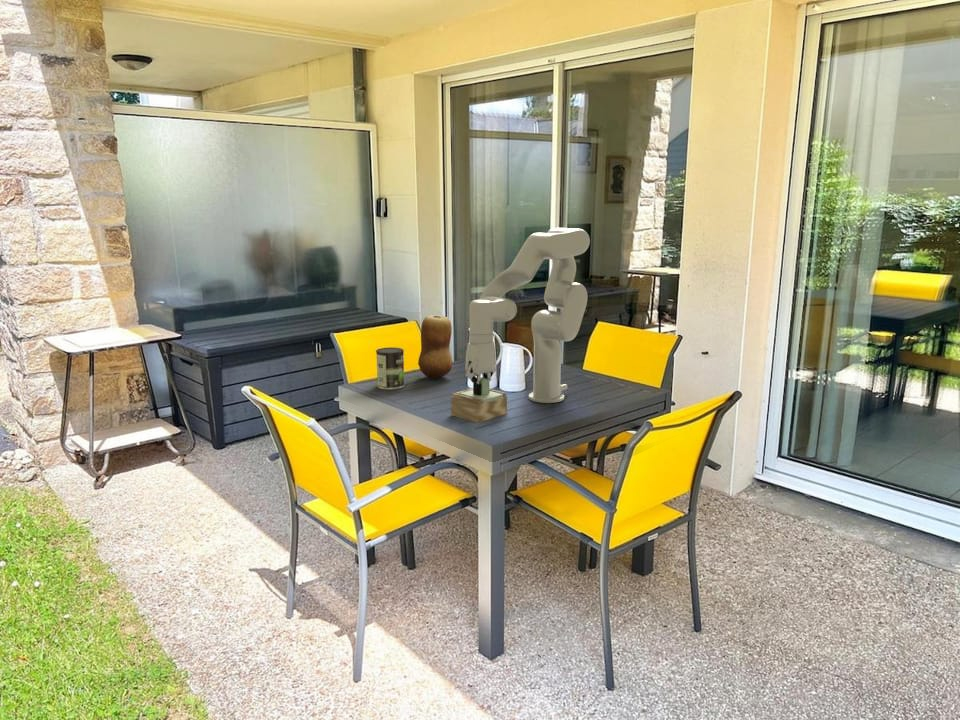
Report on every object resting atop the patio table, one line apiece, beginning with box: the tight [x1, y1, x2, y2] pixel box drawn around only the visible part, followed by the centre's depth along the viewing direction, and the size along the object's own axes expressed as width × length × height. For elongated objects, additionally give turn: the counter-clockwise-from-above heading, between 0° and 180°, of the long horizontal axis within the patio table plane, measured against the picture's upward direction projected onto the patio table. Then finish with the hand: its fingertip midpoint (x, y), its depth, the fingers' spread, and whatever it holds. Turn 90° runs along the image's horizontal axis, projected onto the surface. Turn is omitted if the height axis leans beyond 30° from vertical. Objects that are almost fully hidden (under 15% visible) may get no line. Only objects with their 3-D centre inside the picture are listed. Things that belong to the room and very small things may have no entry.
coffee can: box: [375, 346, 405, 391], centre depth 266 cm, size 10×10×14 cm
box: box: [450, 387, 508, 424], centre depth 232 cm, size 14×12×7 cm
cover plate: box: [460, 376, 503, 403], centre depth 230 cm, size 9×11×6 cm
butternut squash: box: [417, 314, 453, 380], centre depth 277 cm, size 14×13×25 cm
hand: (481, 393), depth 230 cm, fingers closed on cover plate, 3 cm apart
